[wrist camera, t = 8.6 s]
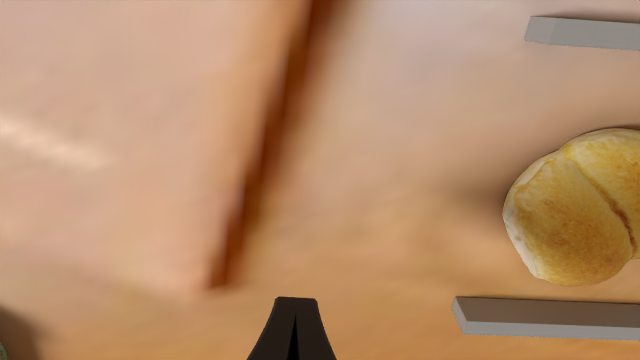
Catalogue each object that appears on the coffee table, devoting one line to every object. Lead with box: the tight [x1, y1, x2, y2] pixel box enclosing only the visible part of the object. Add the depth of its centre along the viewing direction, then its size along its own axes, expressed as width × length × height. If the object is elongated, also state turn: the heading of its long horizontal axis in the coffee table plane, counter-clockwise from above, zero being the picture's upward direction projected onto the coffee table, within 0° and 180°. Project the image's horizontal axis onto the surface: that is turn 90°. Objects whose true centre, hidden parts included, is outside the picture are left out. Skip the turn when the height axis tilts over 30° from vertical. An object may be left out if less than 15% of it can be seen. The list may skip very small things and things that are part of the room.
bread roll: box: [502, 128, 640, 286], centre depth 19 cm, size 8×9×4 cm
